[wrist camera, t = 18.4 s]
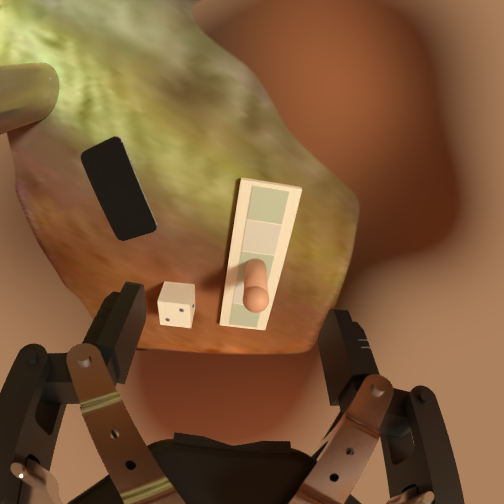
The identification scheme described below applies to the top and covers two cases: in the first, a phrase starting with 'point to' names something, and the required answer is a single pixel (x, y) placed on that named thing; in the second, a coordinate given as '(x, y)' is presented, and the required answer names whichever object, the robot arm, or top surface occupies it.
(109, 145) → the smartphone
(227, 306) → the board
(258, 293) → the pawn
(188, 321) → the die
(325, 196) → the top surface
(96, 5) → the top surface
